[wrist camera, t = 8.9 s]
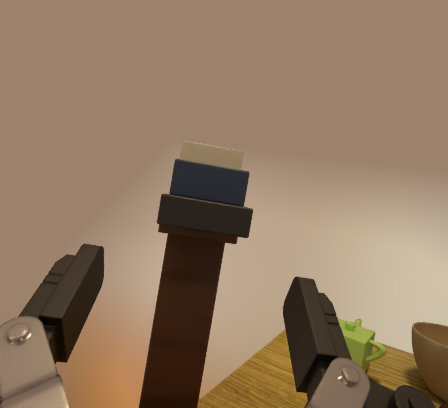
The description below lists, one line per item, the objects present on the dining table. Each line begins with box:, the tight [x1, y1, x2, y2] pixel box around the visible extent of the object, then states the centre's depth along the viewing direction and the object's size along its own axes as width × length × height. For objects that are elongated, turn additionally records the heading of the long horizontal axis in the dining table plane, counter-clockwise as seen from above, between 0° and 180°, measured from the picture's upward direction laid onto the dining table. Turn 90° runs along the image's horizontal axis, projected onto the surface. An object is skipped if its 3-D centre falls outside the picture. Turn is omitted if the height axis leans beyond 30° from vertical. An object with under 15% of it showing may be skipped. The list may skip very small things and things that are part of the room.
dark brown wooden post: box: [139, 224, 238, 408], centre depth 29 cm, size 9×6×31 cm, turn 5°
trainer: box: [157, 140, 253, 238], centre depth 25 cm, size 18×5×6 cm, turn 5°
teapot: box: [338, 319, 386, 372], centre depth 71 cm, size 15×13×11 cm
